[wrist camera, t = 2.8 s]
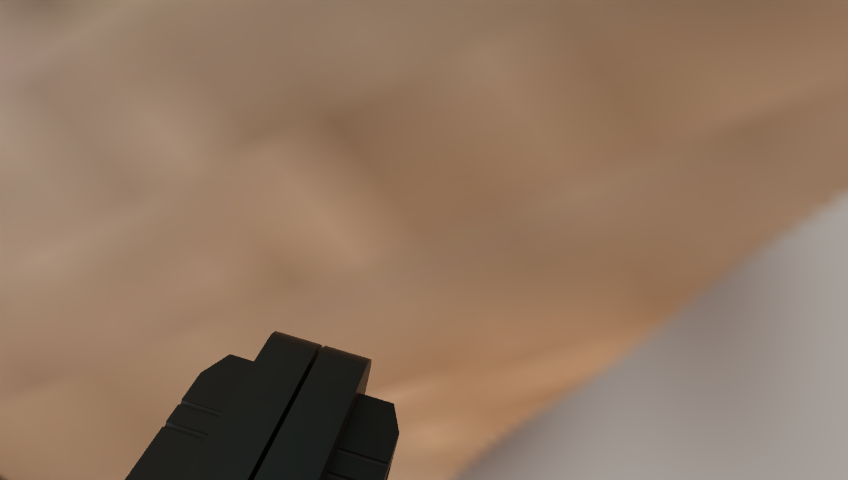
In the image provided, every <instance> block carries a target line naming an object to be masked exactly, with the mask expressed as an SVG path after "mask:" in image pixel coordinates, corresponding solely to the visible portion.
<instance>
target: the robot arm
mask: <svg viewBox="0 0 848 480" xmlns="http://www.w3.org/2000/svg"><path fill="white" fill-rule="evenodd" d="M370 368H371V359H368V358H365V357H361V356H358V355H355V354H351V353H348V352H345V351H341V350H338V349H335V348H331V347H328V346H324V347H323V348H322V345H320V344H317V343H314V342H310V341H307V340H304V339H300V338H297V337H294V336H290V335H287V334H284V333H280V332H277V331H275V332H273V333H272V334H271V336H270V337H269V339H268V340H267V342H266V343H265V345H264V347H263V348H262V350H261V351H260V353H259V354H258V356H257V358H256V359H255V361H250V360H247V359H244V358H241V357H237V356H234V355H231V354H230V355H228V356H226V357H225V358H223V359H222V360H220V361H219V362H217V363H215V364H214V365H212V366H211V367H209V368H208V369H206V370H204V371H203V372H201V373H200V374H199V376H198V377H197V379H196V380H195V382H194V383H193V384H192V386H191V387H190V389H189V390H188V391H187V393H186V394H185V396H184V397H183V398H182V401H181V404H180V405H178V406H177V407H176V408H175V410H174V411H173V413H172V414H171V415H170V417H169V418H168V420H167V421H166V425H165V427H162V428H161V429H160V431H159V432H158V434H157V435H156V437H155V438H154V439H153V441H152V442H151V444H150V445H149V446H148V448H147V449H146V451H145V452H144V453H143V455H142V456H141V458H140V459H139V461H138V462H137V463H136V465H135V466H134V468H133V469H132V470H131V472H130V473H129V475H128V476H127V477H126V479H125V480H387V478H388V475H389V471H390V467H391V463H392V459H393V455H394V451H395V448H396V444H397V440H398V436H399V430H398V424H397V419H396V413H395V408H394V404H393V403H390V402H387V401H383V400H380V399H377V398H373V397H370V396H367V395H365V391H366V386H367V382H368V377H369V372H370Z"/></svg>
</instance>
